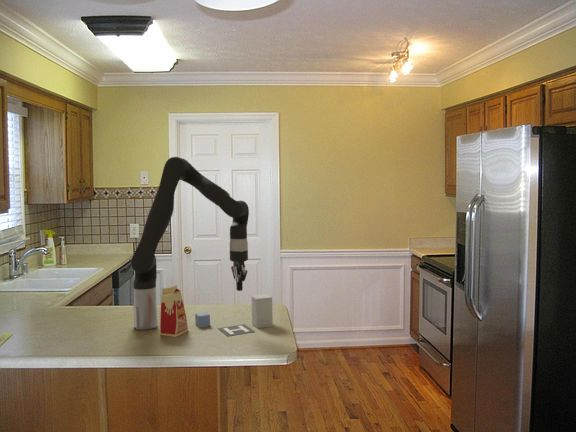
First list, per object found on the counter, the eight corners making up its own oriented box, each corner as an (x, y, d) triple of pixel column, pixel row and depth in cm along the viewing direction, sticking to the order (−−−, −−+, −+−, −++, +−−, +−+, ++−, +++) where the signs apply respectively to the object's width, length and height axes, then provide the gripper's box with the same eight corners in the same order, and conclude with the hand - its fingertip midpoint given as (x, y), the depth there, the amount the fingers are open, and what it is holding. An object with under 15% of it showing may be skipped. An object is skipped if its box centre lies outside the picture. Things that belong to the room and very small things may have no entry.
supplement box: (273, 326, 221) (272, 297, 220) (256, 328, 219) (255, 299, 218) (267, 321, 228) (267, 293, 227) (251, 323, 226) (250, 295, 225)
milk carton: (188, 330, 218) (186, 283, 216) (176, 337, 209) (174, 288, 208) (169, 328, 221) (167, 282, 219) (157, 335, 212) (155, 286, 211)
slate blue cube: (198, 327, 222) (198, 316, 221) (195, 324, 226) (195, 313, 226) (210, 326, 224) (209, 314, 223) (206, 323, 228) (206, 312, 228)
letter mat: (227, 336, 209) (227, 335, 209) (217, 328, 219) (217, 328, 219) (255, 331, 214) (255, 331, 214) (244, 324, 225) (244, 324, 225)
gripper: (224, 247, 219) (225, 288, 221) (235, 251, 207) (236, 294, 209) (241, 246, 222) (242, 286, 224) (253, 250, 211) (254, 292, 212)
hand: (239, 290), depth 216 cm, fingers closed
